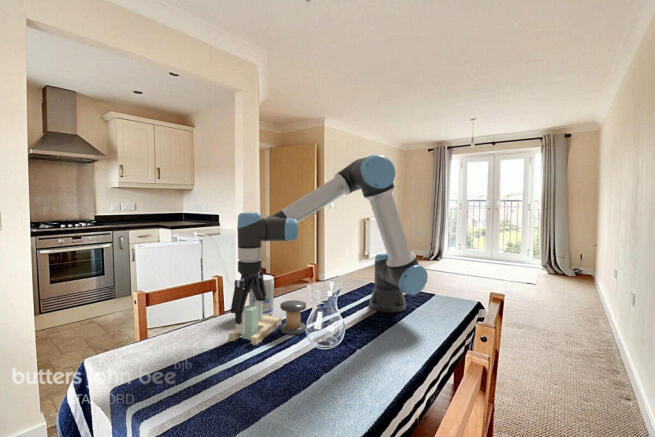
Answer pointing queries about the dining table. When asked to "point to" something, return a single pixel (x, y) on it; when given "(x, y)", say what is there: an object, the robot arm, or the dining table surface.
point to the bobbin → (293, 317)
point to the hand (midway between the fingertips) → (249, 325)
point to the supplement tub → (269, 297)
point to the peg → (250, 321)
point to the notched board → (260, 329)
